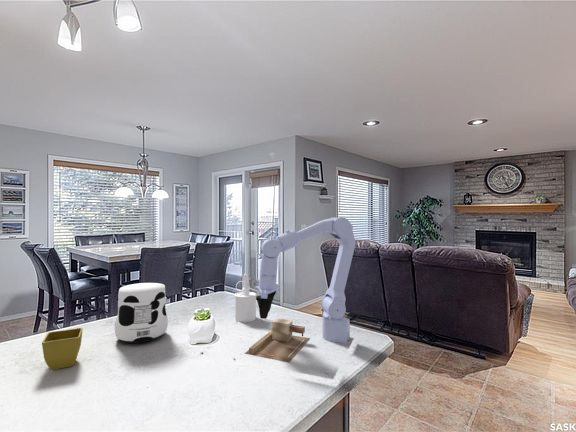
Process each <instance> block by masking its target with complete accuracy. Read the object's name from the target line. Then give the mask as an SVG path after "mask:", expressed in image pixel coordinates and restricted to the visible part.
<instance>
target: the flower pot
mask: <svg viewBox="0 0 576 432" xmlns="http://www.w3.org/2000/svg"><path fill="white" fill-rule="evenodd" d="M83 329H84V328H83V327H78V328H76V327H75V328H71V329H70V328H69V329H65V330H55V331H49V332H47V333H46V334H45V336H44V338H43V340H42V342H41V347H42V355H43V358H44V362H45V364H46V366H47V367H48V368H49V369H50V370H51V371H53V370H59V369H64V368H70V367H73V366H74V365H75V363H76V361H77V359H78V354H79V352H80V349H81V345H82V337H83Z"/></svg>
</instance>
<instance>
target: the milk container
mask: <svg viewBox="0 0 576 432" xmlns="http://www.w3.org/2000/svg"><path fill="white" fill-rule="evenodd" d="M166 298H167V297H166V285H165V284H163V283H159V282H140V283H133V284H127V285H123V286H121V287H120V288H119V290H118V295H117V299H118V300H117V316H116V320H115V324H114V333H115V336H116V339H117V340H119V341H120V342H124V343H129V344H134V343H135V344H136V343H143V342H144V343H145V342H149V341H153V340H156V339H158V338H160V337H162V336H163V335H164V334H165V333H166V331H167V330H168V325H169V318H168V314H167V311H166Z"/></svg>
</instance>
